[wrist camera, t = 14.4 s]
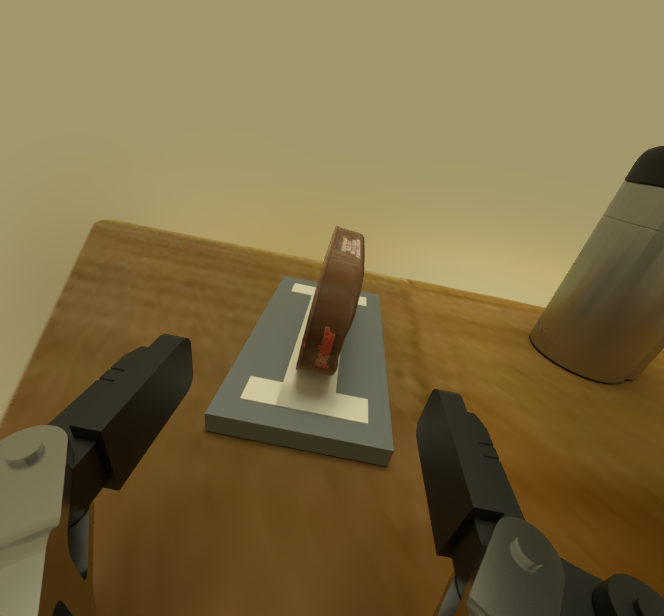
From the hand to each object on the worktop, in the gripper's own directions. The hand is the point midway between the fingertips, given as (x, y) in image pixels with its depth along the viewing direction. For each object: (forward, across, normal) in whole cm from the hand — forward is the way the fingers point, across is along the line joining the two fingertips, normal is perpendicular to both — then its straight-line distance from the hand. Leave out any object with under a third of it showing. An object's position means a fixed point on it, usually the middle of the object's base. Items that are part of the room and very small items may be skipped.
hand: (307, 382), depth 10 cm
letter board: (+14, 0, +9) cm, 17 cm away
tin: (+14, 0, +8) cm, 16 cm away
